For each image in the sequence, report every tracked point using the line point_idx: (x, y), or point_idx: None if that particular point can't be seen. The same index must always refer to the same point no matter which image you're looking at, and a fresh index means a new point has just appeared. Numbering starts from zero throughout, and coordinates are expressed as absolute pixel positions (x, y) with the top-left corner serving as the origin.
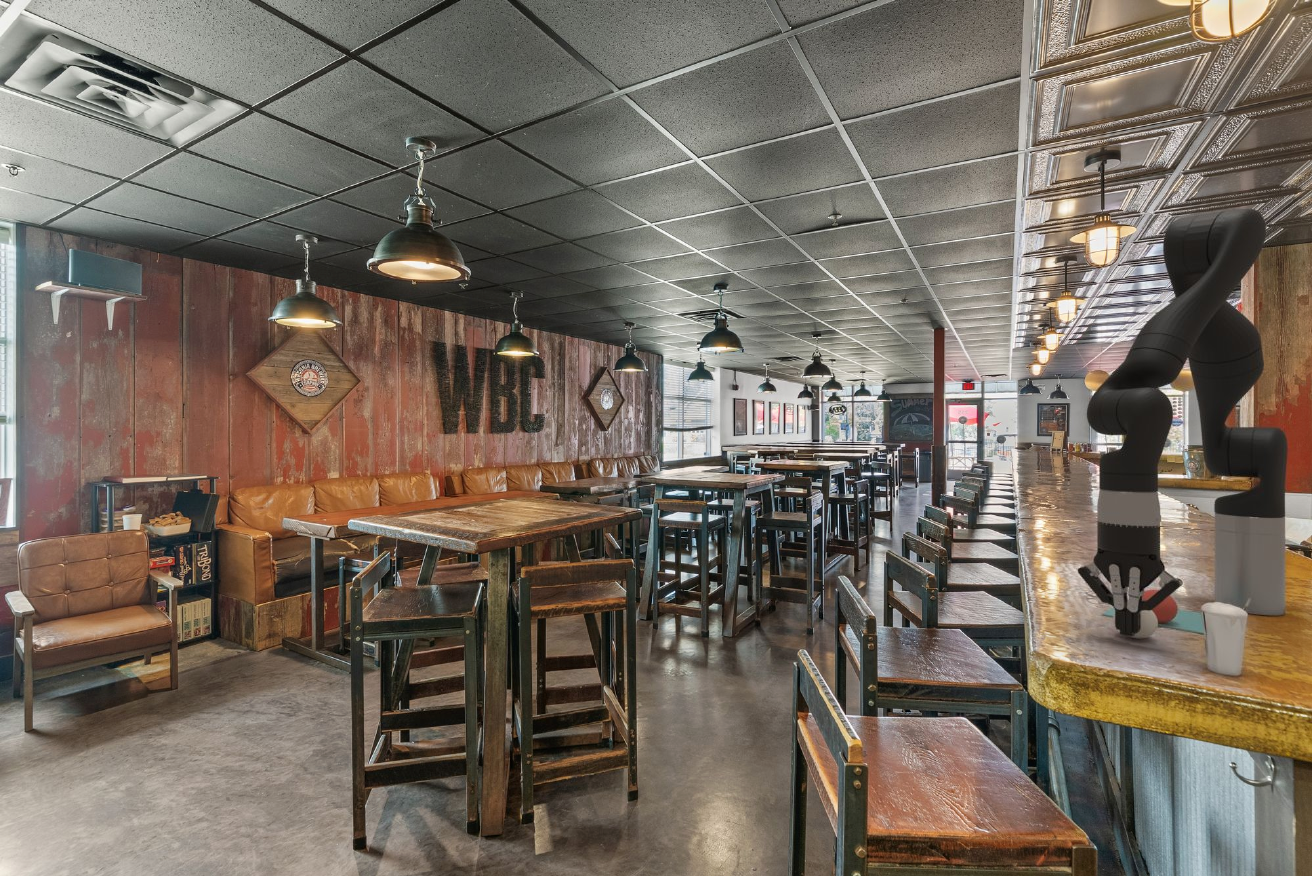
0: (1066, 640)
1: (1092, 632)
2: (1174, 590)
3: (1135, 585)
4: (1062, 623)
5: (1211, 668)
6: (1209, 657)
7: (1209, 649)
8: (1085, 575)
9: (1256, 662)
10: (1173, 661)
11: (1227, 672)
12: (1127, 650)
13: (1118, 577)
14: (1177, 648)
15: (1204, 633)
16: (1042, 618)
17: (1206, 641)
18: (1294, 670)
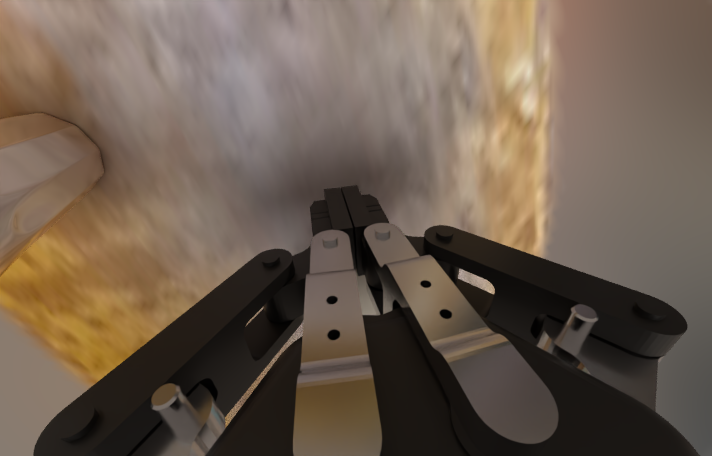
0: (473, 65)
1: (429, 219)
2: (102, 381)
3: (324, 320)
4: (498, 232)
5: (63, 124)
6: (39, 131)
7: (14, 140)
8: (605, 295)
9: (97, 302)
10: (185, 127)
11: (5, 117)
12: (314, 125)
13: (438, 335)
14: (249, 260)
15: (7, 187)
16: (542, 232)
17: (11, 160)
18: (20, 313)
